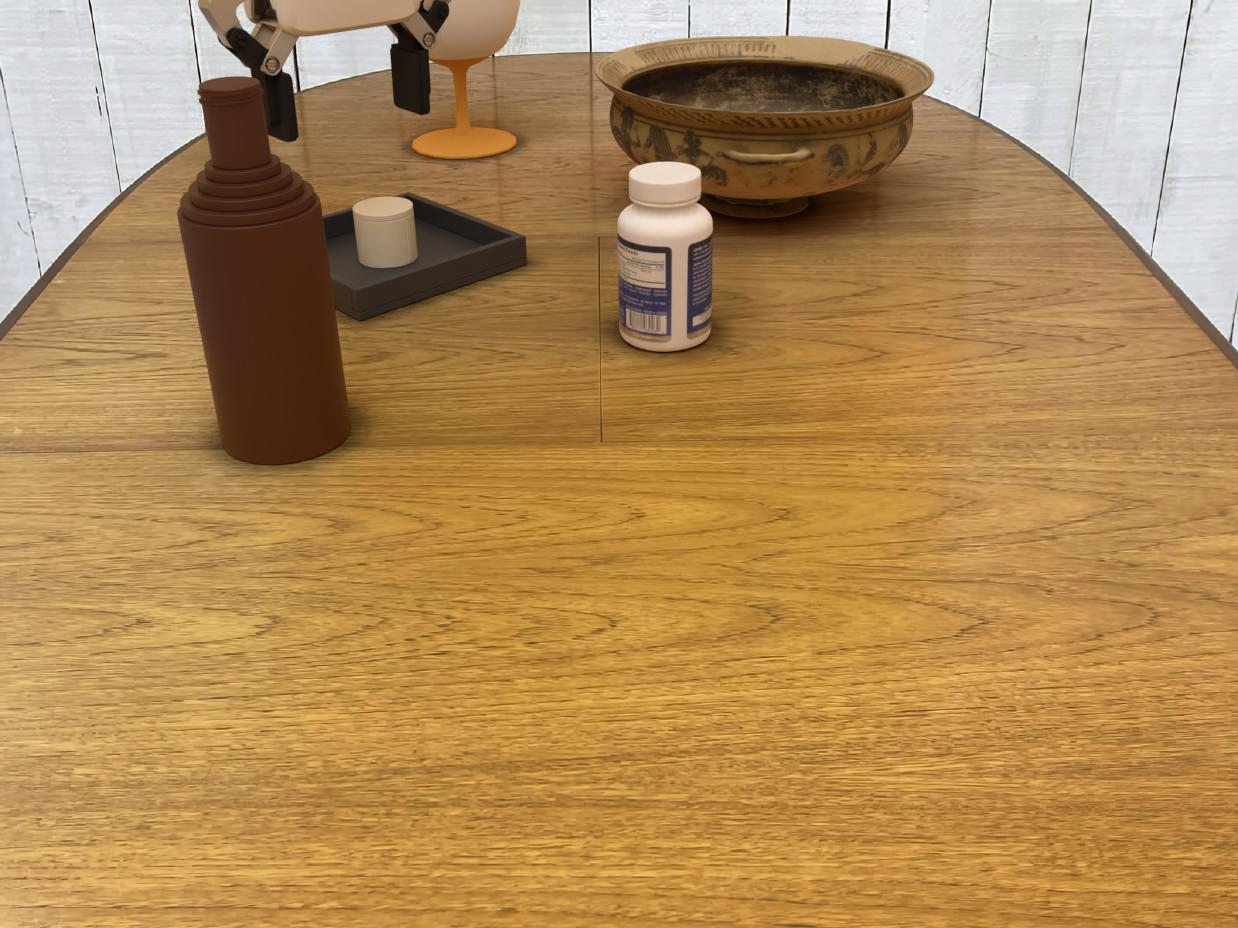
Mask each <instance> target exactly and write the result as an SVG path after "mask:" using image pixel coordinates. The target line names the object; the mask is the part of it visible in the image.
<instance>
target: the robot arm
mask: <svg viewBox="0 0 1238 928" xmlns="http://www.w3.org/2000/svg"><path fill="white" fill-rule="evenodd" d="M449 2H450V3H451V0H422V1H421V2H420V0H197V6H198V8H199V10H200V12H201V14H202V15H203V16H204V18H205V20H206V21H207V24H209V26H210V28H211V30H212V31H213V32H214V33H215V34H216V35H217V36H216V37H217V41H218V43H219V44H220V45H222V46H223V47H224V48H225V49H226V50H227V51H229V52H230V53H231V54H232V55H233V56H234V57H236V58H237V60H239V61H240V63H241V65H242V66H243V67H245V68H247V69H249V70H250V77H252V78H256V79H258V80H259V81H260V86H261V88H262V89H263V95H262V99H263V106H264V112H265V119H266V125H267V132H268V136H269V137H273V138H275V139H276V140H280V141H282V142H284V143H293V142H296V141H297V139H299V136H300V135H299V133H300V132H299V126H298V125H299V124H298V116H297V108H296V107H297V106H296V98H295V90H294V80H293V78H292V75H291V74H290V73H288V72H284V71H283V67H284V65H285V64H286V62H287V60H288V58H289V56H290V54H291V53H292V51H293V50H294V47H295V45H296V44H297V41H298V40H299V38H300V37H315V36H323V35H331V34H339V33H344V32H345V33H346V32H350V31H357V30H364V29H371V28H372V29H373V28H377V27H384V26H386V27H387V28H388V30H389V32H391V33H392V35H393V36H394V37H395V38H396V39H397V42H396V43H391V44H390V49H389V55H390V70H391V83H392V84H391V85H392V97H393V99H392V100H393V105H394V106H395V107H397V108H398V109H401V110H404V111H407V112H410V113H413V114H416V115H419V116H424V115H429V114H430V113H431V98H430V95H431V93H432V87H431V70H430V67H431V66H430V60H429V50H431V49H433V48H434V47H435V45H436V42H437V37H436V34H437V33H438V31H439V30H440V28H441V27H442V25H443V23H444V22H445V20H446V19H447V17H448V15H449V6H448V5H449ZM242 4H243V9H244V13H245V16H246V19H248V21H249V22H251V23H252V24H255V25H254V27H253V29H252V31H251V33H249V32H248V31H247V30H245V29H244V28H243V26H242V25H241V23H240V22H241V21H240V19H239V17H238V16H237V9H238V7H239V6H240V5H242Z"/></svg>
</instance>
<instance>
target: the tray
mask: <svg viewBox="0 0 1238 928" xmlns="http://www.w3.org/2000/svg"><path fill="white" fill-rule="evenodd" d="M391 197H400V198H405V199H408V200H410V201H411V202H412V203H413V211H414V221H415V231H416V241H417V251H418V257H417V259H416V260H415V261H414V262H412V263H410V264H408V265H405V266H401V267H397V268H387V269H385V268H384V269H381V268H371V267H367V266H364V265H363V264H361V263H360V262H359V258H358V250H357V242H356V234H355V225H354V217H353V206H352V207H349V208H344V209H342V210H338V211H334V212H330V213H326V214H322V215H323V223H324V230H325V238H326V245H327V252H328V260H329V267H330V274H331V282H332V289H333V296H334V304H335V310H338V311H339V312H342V313H343V314H346V315H347V316H350V317H352V318H353V319H355V320H358V321H359V322H360V321H364V320H367V319H370V318H373V317H377V316H378V315H382V314H384V313H387V312H391V311H393V310H397V309H399V308H402V307H406V306H408V305H411V304H414V303H417V302H419V301H423V300H427V299H428V298H431V297H434V296H438V295H440V294H444V293H446V292H449V291H451V290H455V289H458V288H461V287H463V286H468V285H470V284H472V283H476V282H478V281H479V282H480V281H481V280H482V281H483V280H485V279H487V278H490V277H493V276H497V275H500V274H502V273H505V272H508V271H512V270H514V269H517V268H520V267H522V266H526V265H528V258H527V254H528V253H527V237H526V235H525V234H522V233H519V232H517V231H514V230H511V229H508V228H506V227H503V226H502V225H501V226H500V225H498V224H495V223H492V222H490V221H487V220H484V219H482V218H479V217H477V216H474V215H472V214H468V213H466V212H464V211H462V210H461V211H460V210H458V209H456V208H452V207H450V206H448V205H445V204H442V203H439V202H437V201H434V200H431V199H429V198H426V197H425V196H424V197H423V196H421V195H418V194H416V193H413V192H411V191H407V192H403V193H399V194H395V195H393V196H391Z"/></svg>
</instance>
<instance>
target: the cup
mask: <svg viewBox="0 0 1238 928" xmlns="http://www.w3.org/2000/svg"><path fill="white" fill-rule="evenodd" d="M421 1H422V0H420V2H421ZM520 5H521V0H451V3H450V2H449V5H448V6H449V15H448V17H447V19H446V20H445V22H444V23H443V25H442V27H441V28H440V30H439V31H438V33H437V34H436V37H437V42H436V45H435V47H434V48H433V49H431V50H429V62H432V63H434V64H436V65H439V66H442V67H445V68H448V70H449V71H450V73H451V74H452V81H453V87H454V97H455V115H456V116H455V119H456V120H455V121H456V122H455V127H452V128H451V127H450V128H443V129H438V130H433V131H430V132H427V133H424V134H421V135H419V136H418V137H416V138H415V139H413V140H412V144H411V149H412V150H414V151H415V152H416V153H417V154H419V155H422V156H426V157H429V158H433V159H443V160H474V159H480V158H481V159H483V158H488V157H493V156H497V155H500V154H503V153H506V152H509V151H510V150H512V149H513V148H514V147H515V146H517V137H516V136H515V135H513V134H512V133H511V132H508V131H506V130H501V129H497V128H493V127H492V128H491V127H479V126H478V127H477V126H471V121H470V114H469V105H468V94H467V93H468V90H467V89H468V87H467V73H468V71H469V69H470V68H471V67H472V66H475V65H478V64H481V62H484V61H485V60H487V59H488V58H490V57H491V56H493V55H495V54H497V53H499V52H500V51H501V50H502V49H503V48H504V47H505V46H506V45H507V44H508V41H509V39H510V37H511V35H512V33H513V31H514V29H515V28H516V25H517V21H518V16H519V11H520V7H521V6H520Z"/></svg>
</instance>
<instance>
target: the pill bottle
mask: <svg viewBox="0 0 1238 928" xmlns="http://www.w3.org/2000/svg"><path fill="white" fill-rule="evenodd" d="M701 194H702V192H701V171H700V170H699V169H698V168H697V167H695V166H693V165H690V164H685V163H680V162H653V163H647V164H643V165H637V166H635V167H633V168H632V169H630V171H629V172H628V197H629V200H630V201H631V202H632V204H629V205H627V206H626V207H625V208H624V209H623V210H622V211H621V213H620V214H619V216H618V218H617V221H616V222H617V224H616V228H617V230H616V234H617V238H616V239H617V271H618V272H617V277H618V278H617V279H618V280H617V281H618V282H617V283H618V287H617V288H618V328H619V334H620V336H621V337H622V339H623V340H624V341H625V342H627V343H628V344H629V345H631V346H633V347H636V348H638V349H641V350H644V351H645V350H646V351H650V352H662V353H664V352H676V351H682V350H687V349H690V348H694V347H696V346H698V345H700V344H702V343H704V342H705V341H706V340H707V339H708V338H709V336H710V334H711V330H712V314H713V312H712V307H713V261H714V260H713V259H714V258H713V251H714V250H713V248H714V225H713V224H714V222H713V217H712V215H711V213H710V211H709V210H708V208H706V207H704V206H703V205H702V204H701V203H698V201H700V197H701Z"/></svg>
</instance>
